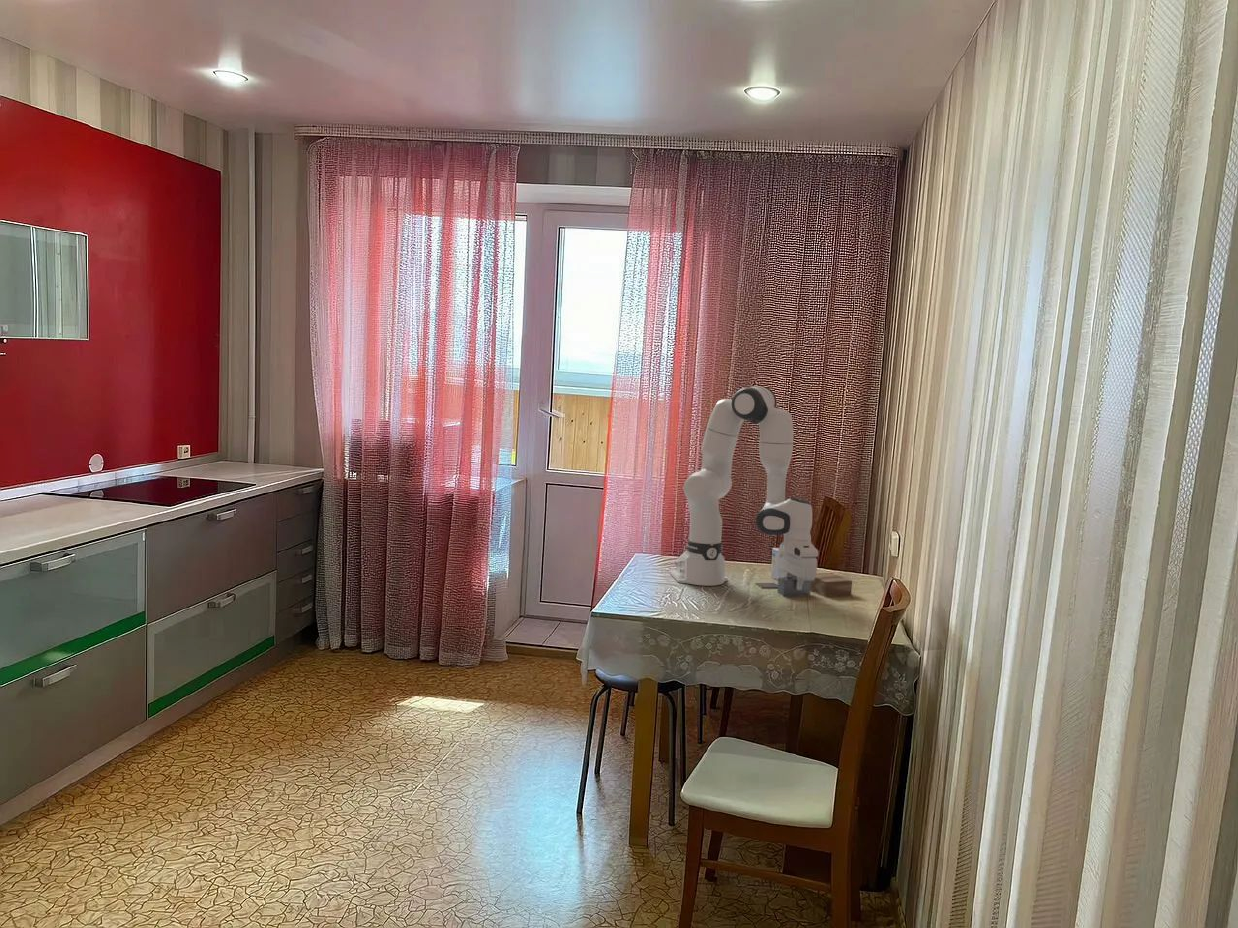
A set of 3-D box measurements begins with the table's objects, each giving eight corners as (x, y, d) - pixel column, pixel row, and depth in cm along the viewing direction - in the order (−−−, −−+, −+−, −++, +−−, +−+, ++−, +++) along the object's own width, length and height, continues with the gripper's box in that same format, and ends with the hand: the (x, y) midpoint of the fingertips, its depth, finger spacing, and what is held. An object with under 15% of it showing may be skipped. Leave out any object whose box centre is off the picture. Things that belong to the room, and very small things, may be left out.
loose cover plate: (755, 585, 321) (755, 582, 321) (773, 585, 323) (773, 582, 323) (761, 589, 316) (762, 586, 316) (780, 589, 317) (781, 586, 317)
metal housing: (777, 593, 309) (778, 577, 309) (803, 592, 313) (804, 576, 312) (783, 596, 306) (784, 580, 305) (809, 595, 309) (811, 579, 308)
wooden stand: (806, 588, 319) (807, 573, 318) (831, 586, 322) (832, 572, 322) (825, 596, 308) (826, 582, 307) (851, 595, 311) (852, 580, 310)
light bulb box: (802, 583, 326) (804, 553, 325) (785, 584, 323) (787, 553, 322) (785, 576, 336) (787, 546, 335) (769, 577, 333) (771, 547, 332)
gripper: (772, 540, 316) (770, 580, 318) (804, 553, 297) (801, 595, 298) (789, 540, 318) (786, 579, 320) (821, 552, 299) (818, 594, 301)
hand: (794, 587), depth 309 cm, fingers closed on metal housing, 4 cm apart
